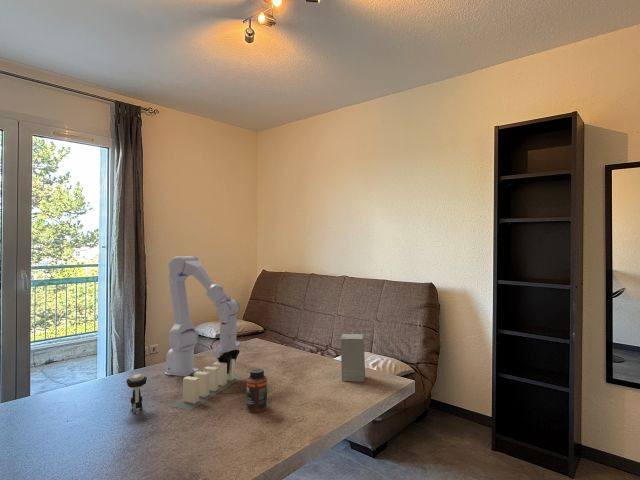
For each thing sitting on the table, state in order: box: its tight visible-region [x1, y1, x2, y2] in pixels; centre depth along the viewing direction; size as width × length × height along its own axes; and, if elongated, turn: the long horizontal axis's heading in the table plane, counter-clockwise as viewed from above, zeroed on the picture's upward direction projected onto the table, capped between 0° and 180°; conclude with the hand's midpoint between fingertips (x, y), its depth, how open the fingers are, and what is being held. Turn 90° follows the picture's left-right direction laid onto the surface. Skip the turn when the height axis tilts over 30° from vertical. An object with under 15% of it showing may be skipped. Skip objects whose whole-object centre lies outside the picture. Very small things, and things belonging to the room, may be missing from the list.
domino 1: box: [182, 375, 199, 403], centre depth 111 cm, size 4×2×7 cm, turn 71°
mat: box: [169, 373, 245, 411], centre depth 120 cm, size 8×30×1 cm, turn 161°
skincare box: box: [340, 333, 366, 383], centre depth 132 cm, size 8×7×16 cm
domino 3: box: [203, 365, 219, 391], centre depth 121 cm, size 4×2×7 cm, turn 71°
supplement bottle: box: [246, 367, 268, 413], centre depth 107 cm, size 6×6×11 cm
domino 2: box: [193, 370, 209, 397], centre depth 116 cm, size 4×2×7 cm, turn 71°
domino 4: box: [212, 361, 227, 386], centre depth 125 cm, size 4×2×7 cm, turn 71°
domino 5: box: [227, 359, 236, 381], centre depth 130 cm, size 4×2×7 cm, turn 71°
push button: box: [126, 373, 148, 415], centre depth 105 cm, size 7×5×10 cm
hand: (227, 372), depth 130 cm, fingers open, 2 cm apart
